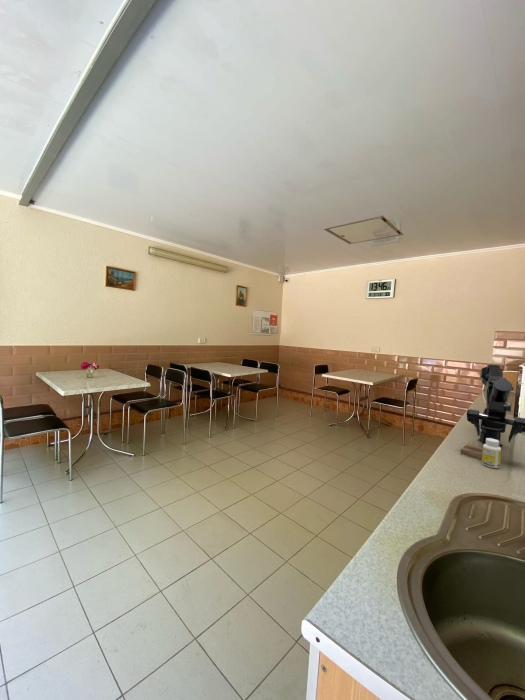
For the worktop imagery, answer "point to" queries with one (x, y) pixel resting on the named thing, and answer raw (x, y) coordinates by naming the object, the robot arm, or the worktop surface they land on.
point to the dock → (472, 451)
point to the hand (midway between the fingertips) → (493, 438)
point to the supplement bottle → (491, 453)
